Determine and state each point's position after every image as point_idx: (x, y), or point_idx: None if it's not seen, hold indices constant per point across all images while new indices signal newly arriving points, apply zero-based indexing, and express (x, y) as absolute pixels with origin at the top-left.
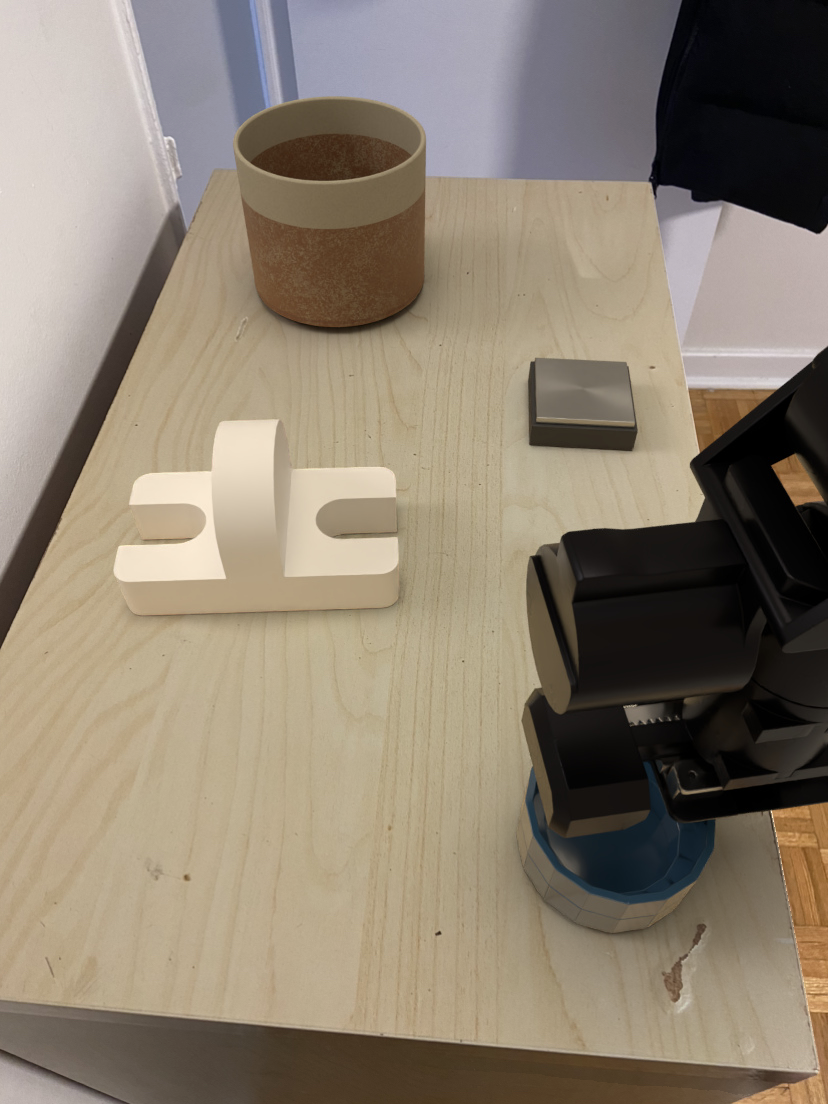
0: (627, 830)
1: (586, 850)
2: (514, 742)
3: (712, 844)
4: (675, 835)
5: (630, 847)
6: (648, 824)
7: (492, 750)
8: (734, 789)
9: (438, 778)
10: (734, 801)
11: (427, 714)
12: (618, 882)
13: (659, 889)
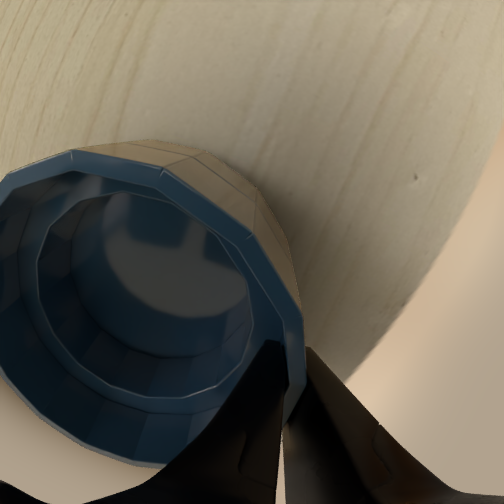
0: (195, 280)
1: (125, 281)
2: (102, 72)
3: None
4: (241, 347)
5: (188, 302)
6: (232, 284)
7: (69, 80)
8: (304, 501)
9: (3, 110)
10: (293, 495)
11: (26, 16)
12: (151, 332)
13: (166, 405)
